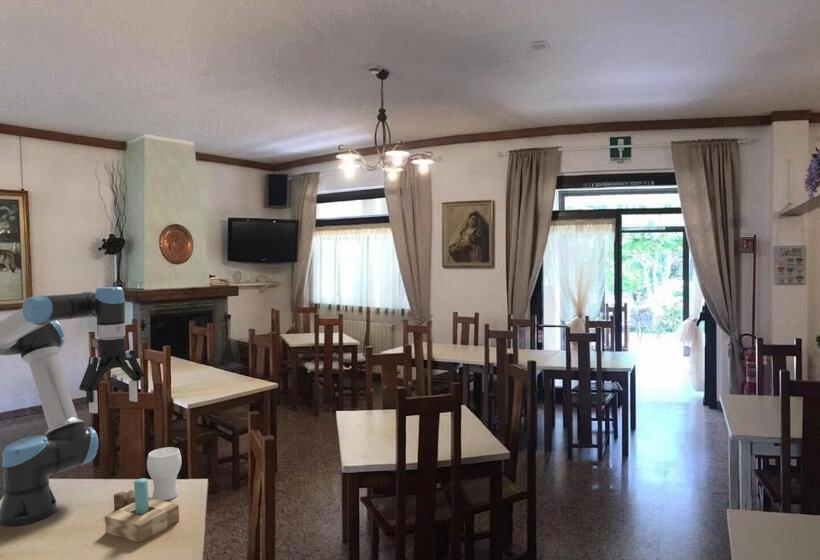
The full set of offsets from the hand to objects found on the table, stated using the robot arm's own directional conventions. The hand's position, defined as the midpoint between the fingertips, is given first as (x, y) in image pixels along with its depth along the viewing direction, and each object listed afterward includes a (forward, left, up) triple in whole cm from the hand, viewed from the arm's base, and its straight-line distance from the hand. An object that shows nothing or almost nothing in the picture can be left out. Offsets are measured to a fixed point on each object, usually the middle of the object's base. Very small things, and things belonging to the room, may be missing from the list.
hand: (114, 406), depth 171 cm
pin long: (+12, -1, -35) cm, 37 cm away
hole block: (+12, -1, -35) cm, 37 cm away
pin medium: (0, +6, -33) cm, 34 cm away
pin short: (-4, +4, -35) cm, 35 cm away
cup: (+1, +17, -35) cm, 39 cm away
